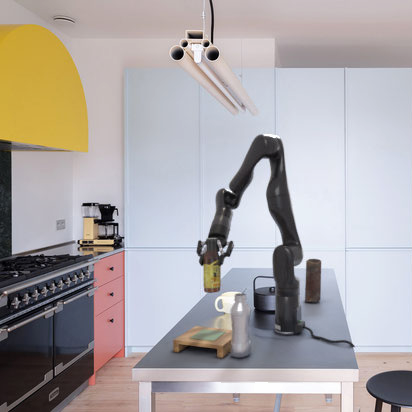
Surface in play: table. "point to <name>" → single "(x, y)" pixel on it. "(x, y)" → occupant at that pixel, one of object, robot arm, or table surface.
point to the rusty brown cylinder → (313, 280)
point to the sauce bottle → (211, 267)
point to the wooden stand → (205, 339)
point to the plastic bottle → (240, 327)
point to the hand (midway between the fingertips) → (210, 264)
